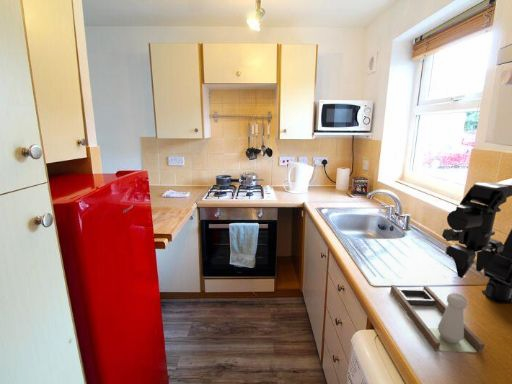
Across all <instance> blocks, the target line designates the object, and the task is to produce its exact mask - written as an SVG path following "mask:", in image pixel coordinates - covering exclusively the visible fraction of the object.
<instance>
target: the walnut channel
mask: <svg viewBox="0 0 512 384" xmlns="http://www.w3.org/2000/svg"><path fill="white" fill-rule="evenodd" d="M398 289H399V288H398V287H397V286H396V285H395V284H391V286H390V293H391V292H392V293H391V294H392V296H393V297H394V296H395V297H394V298H395V300H396V301H397V302H398V303H400V304H399V305H400V306H401V308H402V309H403V310H404V311H405V313H406V314H407V316H408V317H409V319H410V320H411V321H412V322H413V324H414V325H415V326H416V328H417V329H418V330H419V332H420V333H421V335H422V336H423V337H424V339H425V340H426V341H427V343H428V344H429V345H430V347H431V348H432V349H433V351H435V352H450V353H451V352H452V353H453V352H455V353H479V354H480V353H481V354H482V353H483V352H484V348H485V343H483V341H482V339H480V338H479V337H478V336H477V335H476V334H475V333H474V332H473V331H472V330H471V329H470V328H469V327H468V326H467V325H466V324H465V323H464V338H463V339H462V340H461V341H459V342H458V343H457V344H450V343H448V342H446V341H444V340H443V339H442V338H441V335H440V333H439V330H438V327H437V328H435V327H433V328H432V327H428V325H427V324H426V323H425V322H424V321H423V319H422V318H421V317H420V315H419V314H418V313H417V312H416V311H415V309H414V308H413V307H412V305H410V304H409V303H408V302H407V300H406V299H405V298H404V297H403V295H402V294H401V293H400V292H399V290H398ZM422 290H425V291H426V292H427V293H428V294H429V295H430V296H431V297H432V298H433V299H434V300H435V303H434V307H436V308H437V309H438V311H439V312H440V313H441V314H442V315H443V314H444V312H445V310H446V308H447V306H448V305H446V304H445V303H444V302H443V300H441V298H439V297H438V296H437V295H436V294H435V293H434V291H433V290H431V289H430V287H428V285H423V289H422Z"/></svg>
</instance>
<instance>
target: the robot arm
mask: <svg viewBox="0 0 512 384" xmlns="http://www.w3.org/2000/svg"><path fill="white" fill-rule="evenodd" d="M509 197H512V178H509V179H504V180H501V181H498V182H475V183H474V184H473V185H472V186H471V187H470V189H469V190H468V191H467V193H466V194H465V195H464V196H463V198H462V200H461V201H460V203H459V205H457V206H456V208H455V210H453V211H451V212H450V211H449V214H448V215H447V217H446V222H447V224H448V226H449V227H450V228H445V229H443V231H442V234H441V237H442V238H443V239H444V240H445V241H446V242H450V241H451V242H452V241H453V242H458V243H455V244H452V245H449V246H447V247H446V248H445V252H444V253H445V255H448V257H449V258H452V259H453V261H454V263H455V269H456V273H457V277H459V278H460V279H462V278H464V276H465V275H466V274H467V273H468V271H469V270H470V268H471V267H472V266H473V264H474V263H475V260H476V263H475V271H477V272H479V273H480V272H481V271H482V270H483V275H484V276H485V277H486V278H488V281H487V283H486V288H485V290H483V289H482V290H481V292H482V293H483V294H484V295H485V296H486V297H488V298H490V300H492V301H493V302H494V303H497V304H512V228H511V229H510V231H509V233H508V235H507V236H506V239H505V241H504V242H502V241H500V240H497V239H495V238H491V237H492V236H495V234H496V233H495V232H496V231H494V230H493V228H494V224H495V218H496V214H497V213H499V212H501V210H502V209H501V208H500V206H501V205H503V204H505V203H507V199H508V198H509Z"/></svg>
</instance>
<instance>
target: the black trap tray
mask: <svg viewBox="0 0 512 384" xmlns="http://www.w3.org/2000/svg"><path fill="white" fill-rule="evenodd" d="M397 289H398V290H399V292H400V293H401V294H402V295H403V297H404V298H405V299H406V300H407V302H408V303H409V304H410V305H411V307H412V306H414V307H415V306H418V307H419V306H421V307H435V305H434V303H435V300H434V299H433V298H432V297H431V296H430V295H429V294H428V293H427V292H426V291H425V290H423V289H418V288H417V289H414V288H413V289H411V288H397Z"/></svg>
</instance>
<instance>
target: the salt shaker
mask: <svg viewBox="0 0 512 384" xmlns="http://www.w3.org/2000/svg"><path fill="white" fill-rule="evenodd" d="M446 302H447V305H446V306H447V308H446V310H445V312H444V314H442V316H441V318H440V320H439V323H438V324H437V325H438V326H437V328H438V330H439V333H440V335H441V338H442V339H443V340H444V341H446V342H448V343H450V344H457V343H458V342H459V341H461V340H462V339H463V338H465V337H464V324H465V323H464V309H465V308H467V306H468V299H466V297H465V296H463V295H462V294H458V293H454V292H453V293H452V292H451V293H448V294H447V297H446Z"/></svg>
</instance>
